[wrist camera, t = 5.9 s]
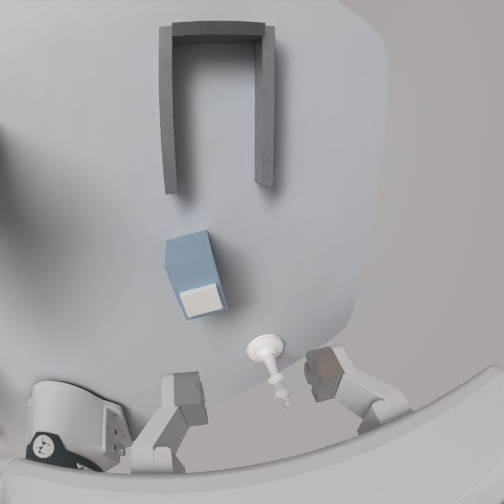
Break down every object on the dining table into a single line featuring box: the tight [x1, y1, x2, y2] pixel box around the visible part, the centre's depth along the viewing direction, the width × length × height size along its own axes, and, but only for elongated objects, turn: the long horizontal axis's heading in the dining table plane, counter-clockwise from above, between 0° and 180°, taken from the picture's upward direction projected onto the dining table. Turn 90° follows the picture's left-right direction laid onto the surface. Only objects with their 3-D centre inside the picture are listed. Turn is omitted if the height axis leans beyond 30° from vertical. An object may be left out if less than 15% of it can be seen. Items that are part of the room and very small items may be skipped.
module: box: [165, 230, 228, 320], centre depth 26 cm, size 6×4×6 cm, turn 10°
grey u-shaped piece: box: [159, 21, 275, 194], centre depth 21 cm, size 14×9×3 cm, turn 0°
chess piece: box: [247, 334, 291, 410], centre depth 33 cm, size 5×5×10 cm
